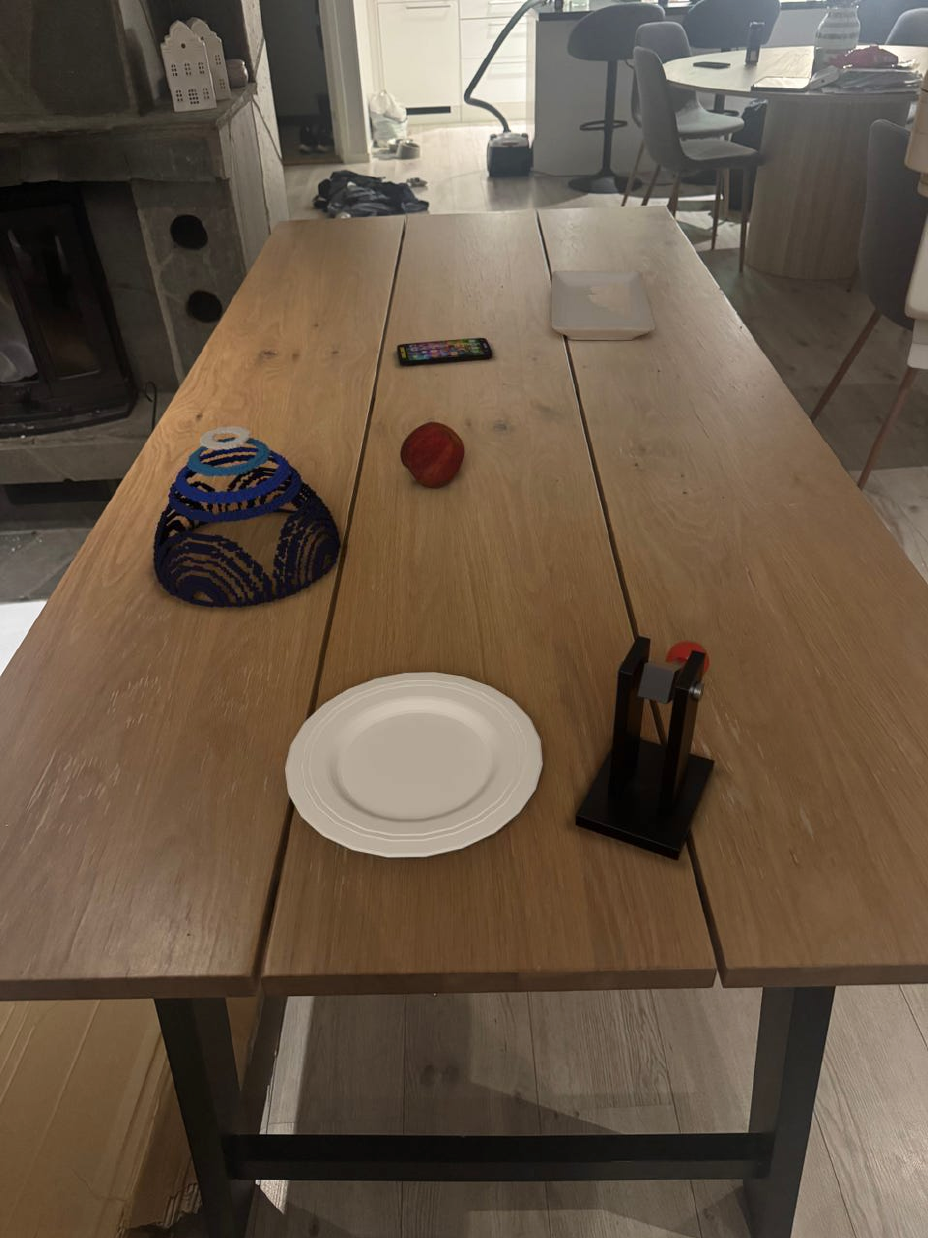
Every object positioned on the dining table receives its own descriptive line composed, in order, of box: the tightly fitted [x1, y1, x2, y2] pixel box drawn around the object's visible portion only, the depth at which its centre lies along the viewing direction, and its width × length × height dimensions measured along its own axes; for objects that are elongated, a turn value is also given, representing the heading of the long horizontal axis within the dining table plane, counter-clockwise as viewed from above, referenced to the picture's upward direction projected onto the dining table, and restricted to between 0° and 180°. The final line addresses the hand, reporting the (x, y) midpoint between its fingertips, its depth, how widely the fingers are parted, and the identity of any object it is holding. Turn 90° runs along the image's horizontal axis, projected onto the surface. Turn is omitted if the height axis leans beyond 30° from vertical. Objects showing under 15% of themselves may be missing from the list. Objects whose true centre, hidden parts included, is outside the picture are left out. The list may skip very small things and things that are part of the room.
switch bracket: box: [575, 635, 716, 862], centre depth 69 cm, size 10×8×14 cm
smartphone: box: [396, 337, 493, 366], centre depth 150 cm, size 8×1×15 cm
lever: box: [637, 640, 710, 705], centre depth 70 cm, size 13×3×3 cm, turn 153°
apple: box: [399, 421, 466, 488], centre depth 113 cm, size 7×8×8 cm
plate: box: [284, 671, 544, 860], centre depth 76 cm, size 21×21×2 cm
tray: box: [550, 270, 656, 341], centre depth 162 cm, size 17×31×4 cm, turn 175°
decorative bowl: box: [152, 425, 342, 609], centre depth 99 cm, size 20×20×14 cm
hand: (926, 343), depth 70 cm, fingers open, 8 cm apart
